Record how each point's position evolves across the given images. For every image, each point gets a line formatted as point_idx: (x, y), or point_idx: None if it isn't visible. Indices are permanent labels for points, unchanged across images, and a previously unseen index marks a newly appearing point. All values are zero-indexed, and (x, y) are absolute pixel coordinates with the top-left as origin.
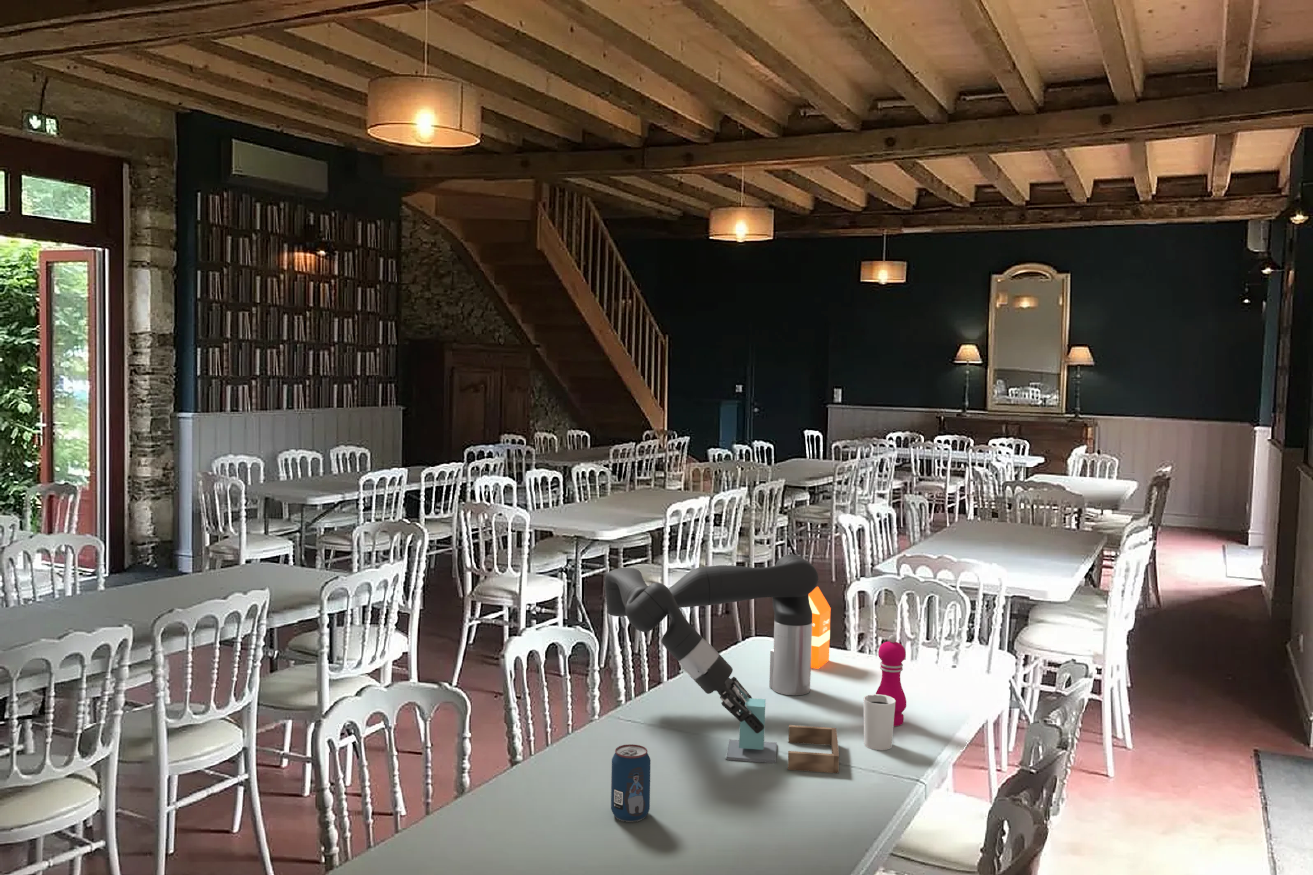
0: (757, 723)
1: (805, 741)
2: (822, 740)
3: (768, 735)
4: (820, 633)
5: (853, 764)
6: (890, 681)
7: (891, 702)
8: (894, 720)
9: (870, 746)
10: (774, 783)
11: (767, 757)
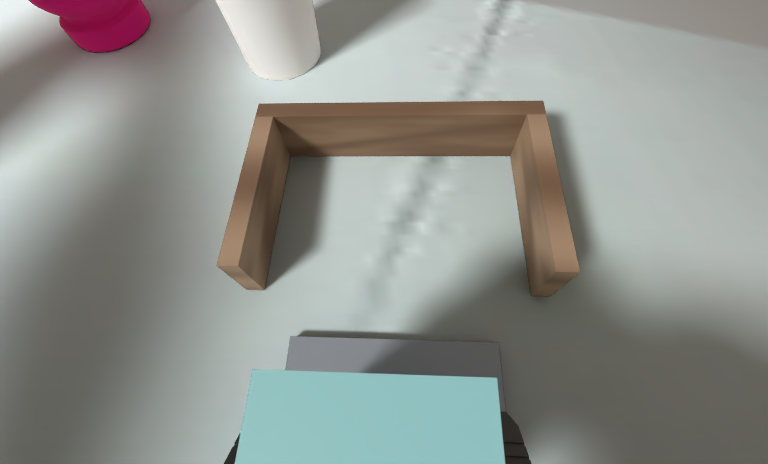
0: (524, 447)
1: (273, 226)
2: (280, 170)
3: (175, 373)
4: None
5: None
6: None
7: None
8: (141, 4)
9: (309, 63)
10: (715, 350)
11: None
